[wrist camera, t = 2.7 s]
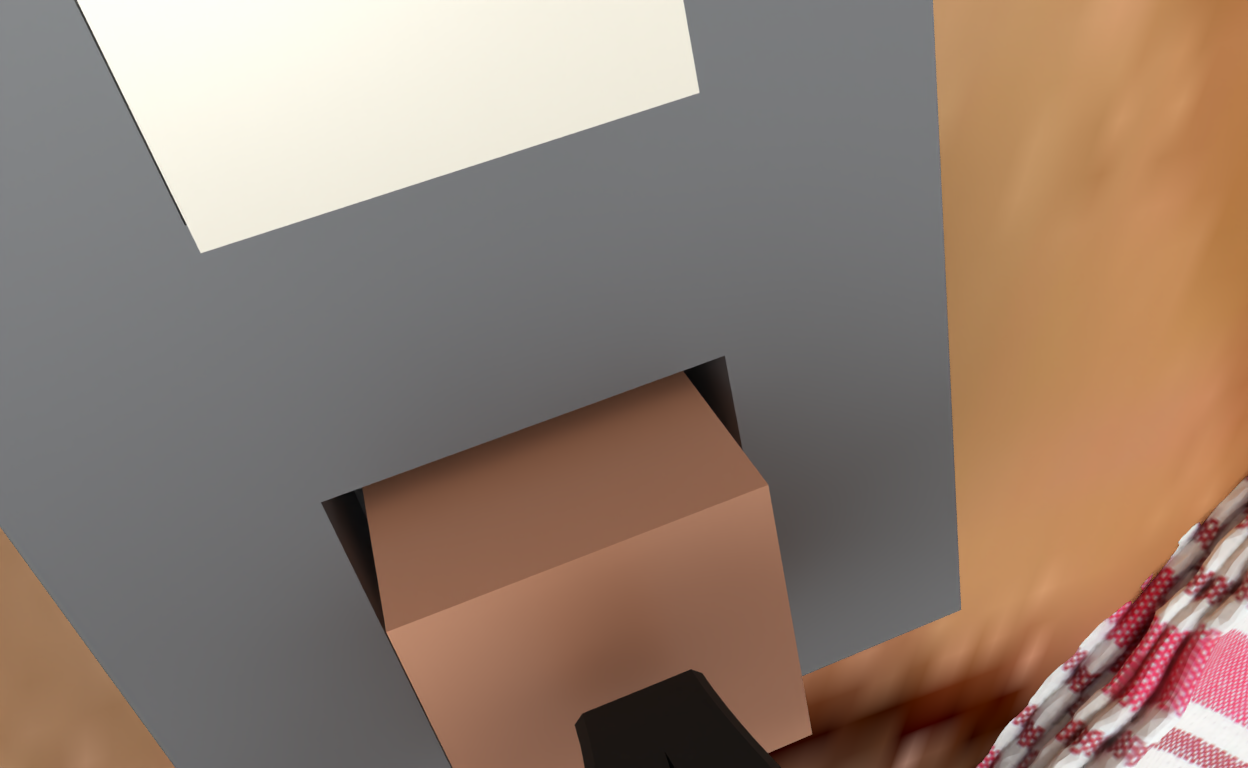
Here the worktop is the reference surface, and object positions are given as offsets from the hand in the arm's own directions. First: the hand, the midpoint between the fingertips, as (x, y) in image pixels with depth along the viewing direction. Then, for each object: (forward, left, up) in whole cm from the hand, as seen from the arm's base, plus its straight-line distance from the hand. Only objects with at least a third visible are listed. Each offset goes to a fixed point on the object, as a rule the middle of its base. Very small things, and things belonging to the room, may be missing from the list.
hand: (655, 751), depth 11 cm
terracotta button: (0, 0, -4) cm, 4 cm away
